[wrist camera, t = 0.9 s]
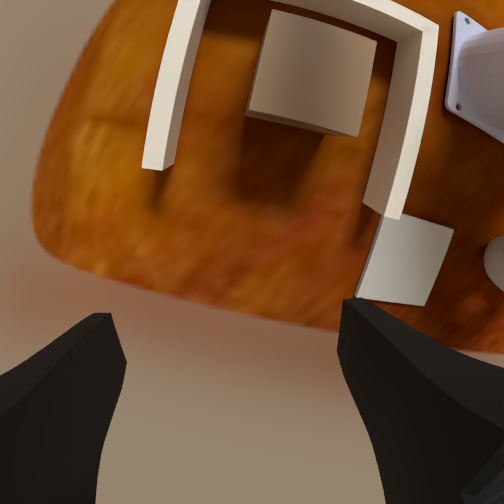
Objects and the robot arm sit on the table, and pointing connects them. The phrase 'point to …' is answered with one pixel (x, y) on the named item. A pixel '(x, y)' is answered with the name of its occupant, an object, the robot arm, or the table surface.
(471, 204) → the table surface
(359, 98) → the block
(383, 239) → the mat
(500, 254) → the donut
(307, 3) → the cream u-shaped arch
